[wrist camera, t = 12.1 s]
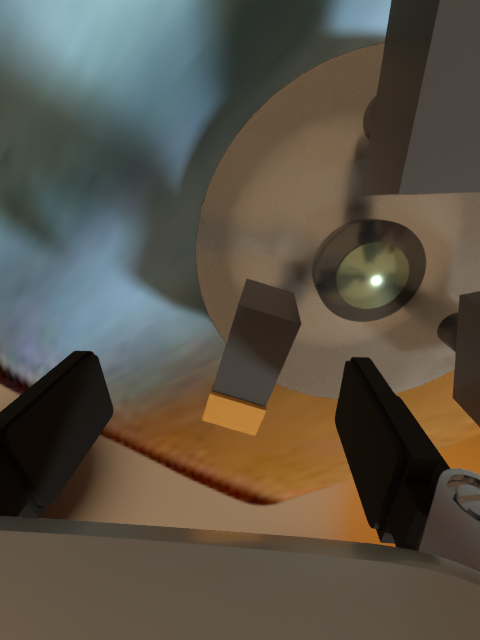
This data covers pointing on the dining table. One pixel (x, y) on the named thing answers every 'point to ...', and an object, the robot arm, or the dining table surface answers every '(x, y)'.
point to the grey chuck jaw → (253, 357)
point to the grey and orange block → (465, 352)
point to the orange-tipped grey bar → (426, 102)
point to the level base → (309, 202)
